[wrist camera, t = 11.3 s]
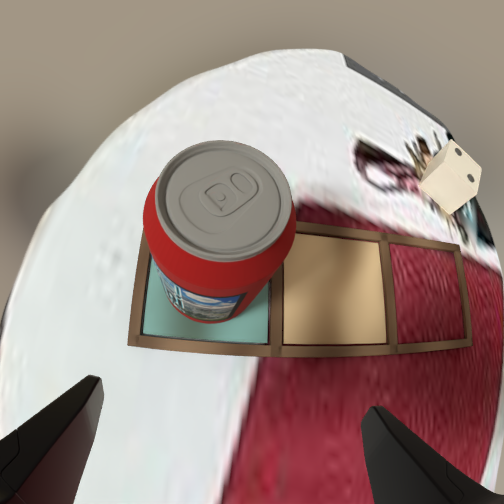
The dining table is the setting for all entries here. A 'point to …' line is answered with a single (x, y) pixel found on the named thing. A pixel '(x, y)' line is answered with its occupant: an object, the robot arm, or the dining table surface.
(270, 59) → the dining table surface
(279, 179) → the beverage can
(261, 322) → the brown frame
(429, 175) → the die
